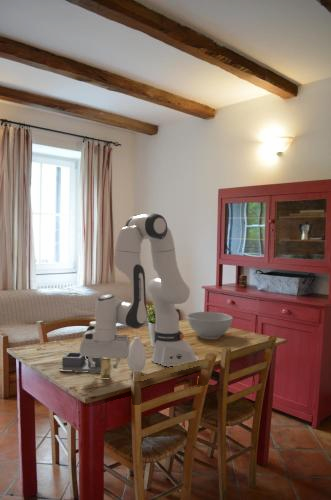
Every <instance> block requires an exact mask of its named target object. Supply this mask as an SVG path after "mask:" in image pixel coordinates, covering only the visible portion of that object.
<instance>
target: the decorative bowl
mask: <svg viewBox="0 0 331 500" xmlns="http://www.w3.org/2000/svg"><path fill="white" fill-rule="evenodd" d="M186 318H187V321H188V324H189V327H191V329H192V331H193V332H194V333H196V335H198V337H199V338H201V339H205V340H217V339H219V338H221V336H223V334H225V333H226V332H227V331H228V330H229V329H230V327H231V325H232V323H233V320H234V317H233V316H232V315H230V314H228V313H227V314H226V313H223V312H215V311H214V312H213V311H198V312H192V313H188V314H187V317H186Z"/></svg>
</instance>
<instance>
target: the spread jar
mask: <svg viewBox="0 0 331 500" xmlns="http://www.w3.org/2000/svg"><path fill="white" fill-rule="evenodd" d="M95 323H96V320H94V321H90V322H89V326H88V327H87V329H86V331H85V332H87V331H89V330H93V329H95Z"/></svg>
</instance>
